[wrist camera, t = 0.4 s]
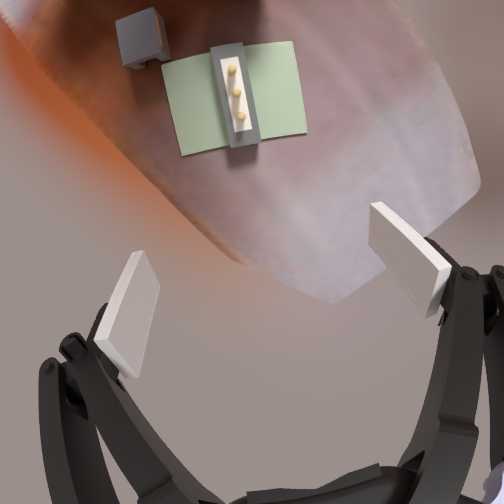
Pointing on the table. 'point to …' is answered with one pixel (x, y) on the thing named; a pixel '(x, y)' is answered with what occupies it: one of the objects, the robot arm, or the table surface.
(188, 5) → the table surface
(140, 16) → the plug block
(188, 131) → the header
